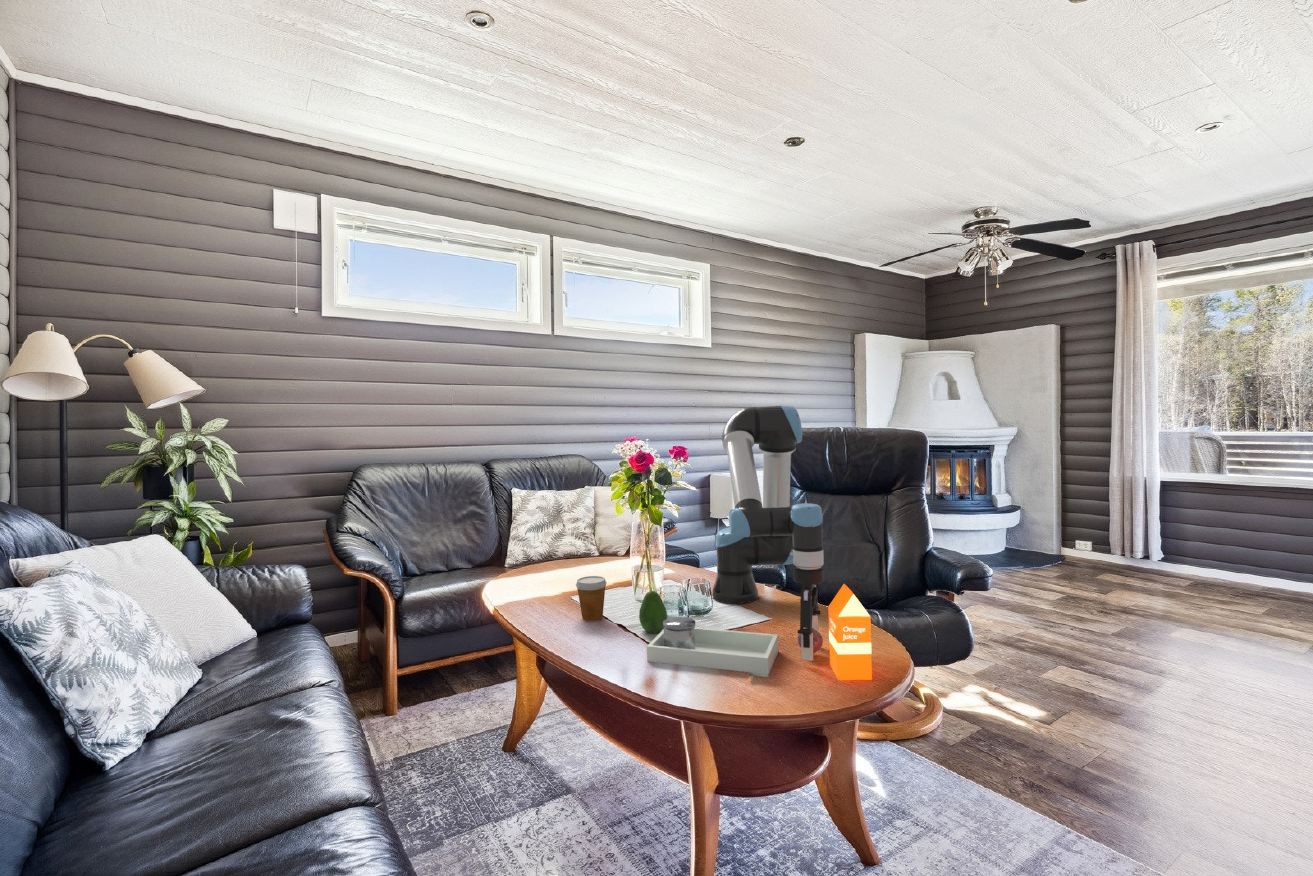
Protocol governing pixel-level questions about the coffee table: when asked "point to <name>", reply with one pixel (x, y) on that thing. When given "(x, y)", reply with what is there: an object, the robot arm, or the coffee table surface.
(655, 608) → the avocado
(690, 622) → the tin
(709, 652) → the grey tray
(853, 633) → the orange juice
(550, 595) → the coffee table surface
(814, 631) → the vegetable
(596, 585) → the disposable coffee cup
